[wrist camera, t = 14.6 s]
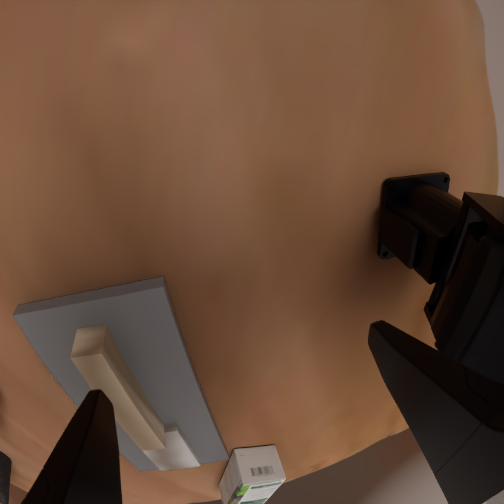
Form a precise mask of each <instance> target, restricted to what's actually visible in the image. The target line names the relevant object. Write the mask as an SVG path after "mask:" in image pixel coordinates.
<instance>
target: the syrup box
mask: <svg viewBox="0 0 504 504" xmlns="http://www.w3.org/2000/svg"><path fill="white" fill-rule="evenodd" d="M285 480H286V477H285V474H284V471H283V468H282V465H281V462H280V459H279V456H278V453H277V450H276V447H275V445H268V446H260V447H250V448H237V449H234V450H233V453H232V455H231V458H230V460H229V462H228V465H227V467H226V469H225V472H224V474H223V477H222V479H221V481H220V483H219V487H220V492H221V497H222V501H223V504H264V503H265V502H266V501H267V500H268V498H269V497H270V496H271V495H272V494H273V493H274V492H275V490H277V488H278V487H279V486H280V485H281V484H282V483H283V482H284V481H285Z"/></svg>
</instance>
